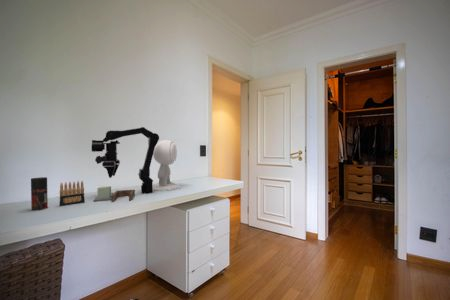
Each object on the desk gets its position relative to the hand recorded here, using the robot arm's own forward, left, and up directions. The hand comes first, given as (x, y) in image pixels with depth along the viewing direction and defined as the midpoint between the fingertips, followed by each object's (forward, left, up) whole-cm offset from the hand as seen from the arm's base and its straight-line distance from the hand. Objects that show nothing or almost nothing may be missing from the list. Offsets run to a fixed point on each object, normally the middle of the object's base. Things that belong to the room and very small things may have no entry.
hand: (112, 176), depth 130 cm
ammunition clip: (+16, +15, -12) cm, 25 cm away
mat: (+3, +8, -12) cm, 14 cm away
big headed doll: (-31, -16, -12) cm, 37 cm away
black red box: (+28, +20, -12) cm, 36 cm away
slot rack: (-8, +10, -12) cm, 17 cm away
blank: (+3, +8, -11) cm, 14 cm away
